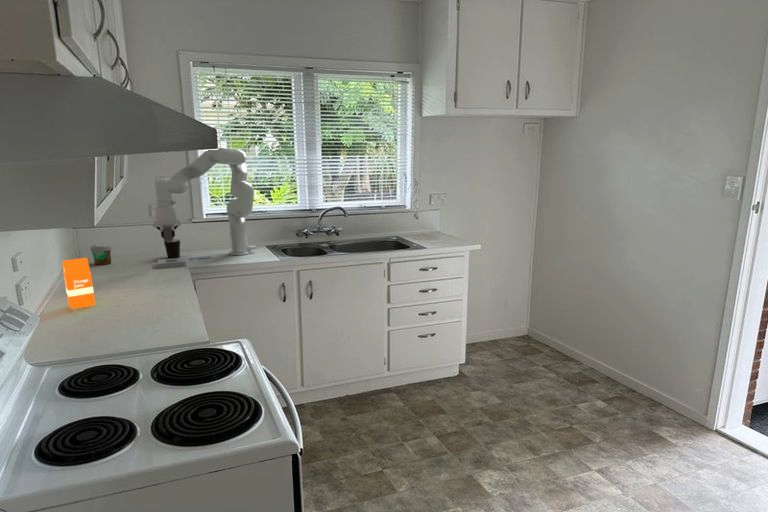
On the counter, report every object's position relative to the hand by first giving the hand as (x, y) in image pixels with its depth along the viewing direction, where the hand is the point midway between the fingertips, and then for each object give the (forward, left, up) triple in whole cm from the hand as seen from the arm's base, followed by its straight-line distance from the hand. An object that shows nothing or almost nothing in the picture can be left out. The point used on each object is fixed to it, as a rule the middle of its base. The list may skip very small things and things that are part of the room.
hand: (168, 237), depth 271 cm
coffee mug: (-1, -20, -15) cm, 25 cm away
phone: (-15, -11, -16) cm, 24 cm away
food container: (+37, -17, -15) cm, 43 cm away
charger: (0, 0, -2) cm, 2 cm away
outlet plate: (0, 0, -15) cm, 15 cm away
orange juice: (+32, +61, -15) cm, 70 cm away
